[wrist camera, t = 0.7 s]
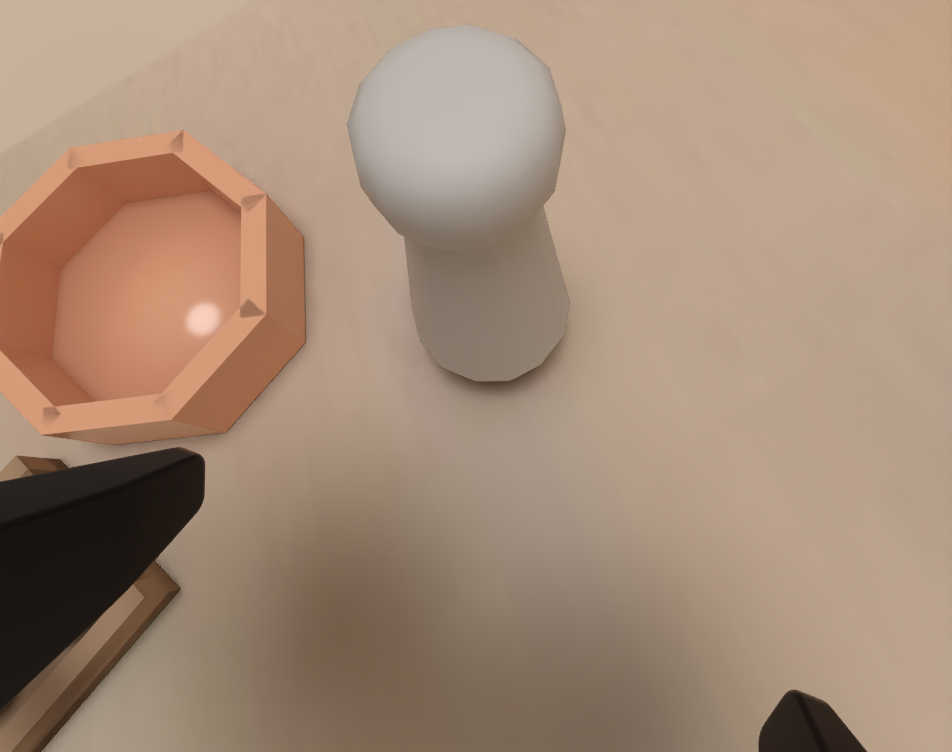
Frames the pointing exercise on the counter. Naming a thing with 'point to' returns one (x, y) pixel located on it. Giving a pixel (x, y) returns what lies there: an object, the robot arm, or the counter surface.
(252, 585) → the counter surface
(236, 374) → the bowl
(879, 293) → the counter surface
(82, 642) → the pebble tray
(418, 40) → the salt shaker
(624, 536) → the counter surface
